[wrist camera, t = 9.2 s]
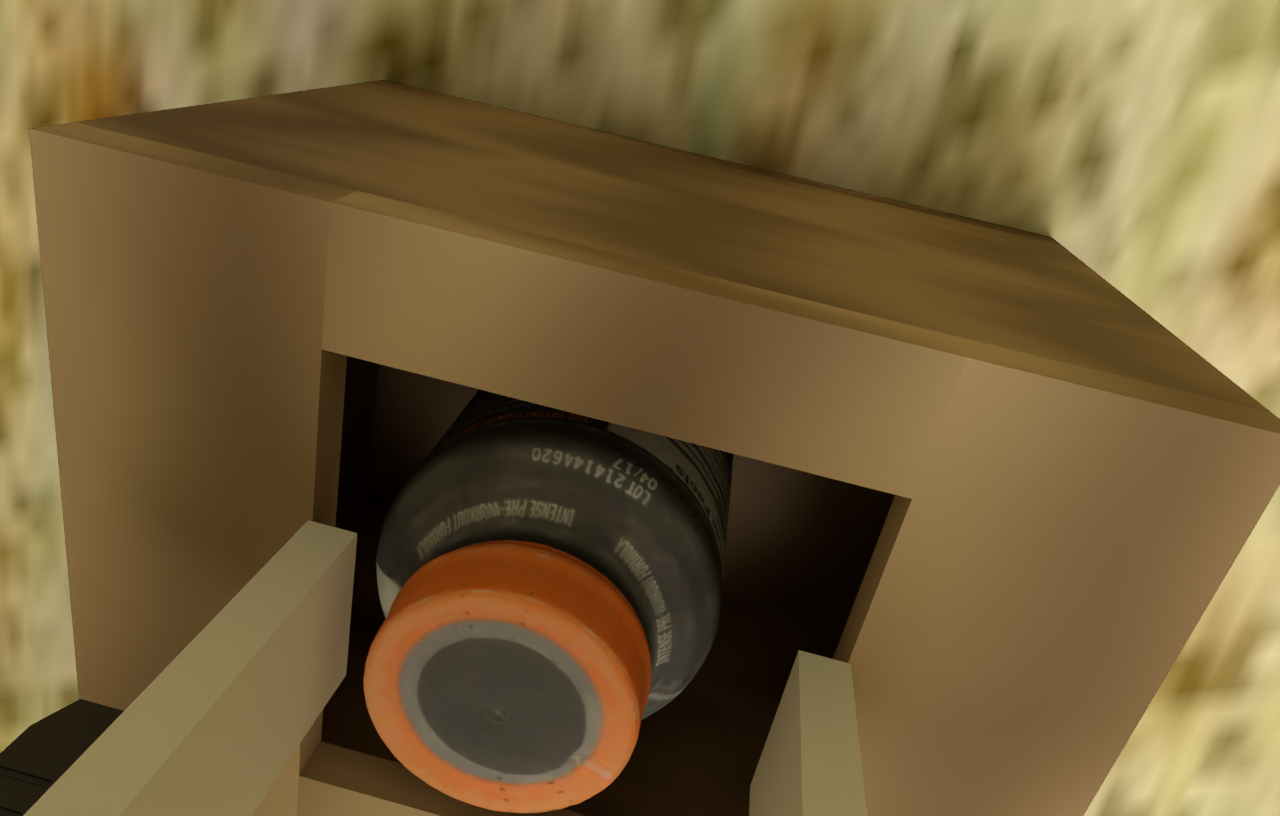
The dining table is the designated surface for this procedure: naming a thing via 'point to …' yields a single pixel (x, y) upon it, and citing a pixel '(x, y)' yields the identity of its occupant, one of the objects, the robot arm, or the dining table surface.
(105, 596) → the deposit box
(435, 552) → the pill bottle
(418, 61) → the dining table surface
